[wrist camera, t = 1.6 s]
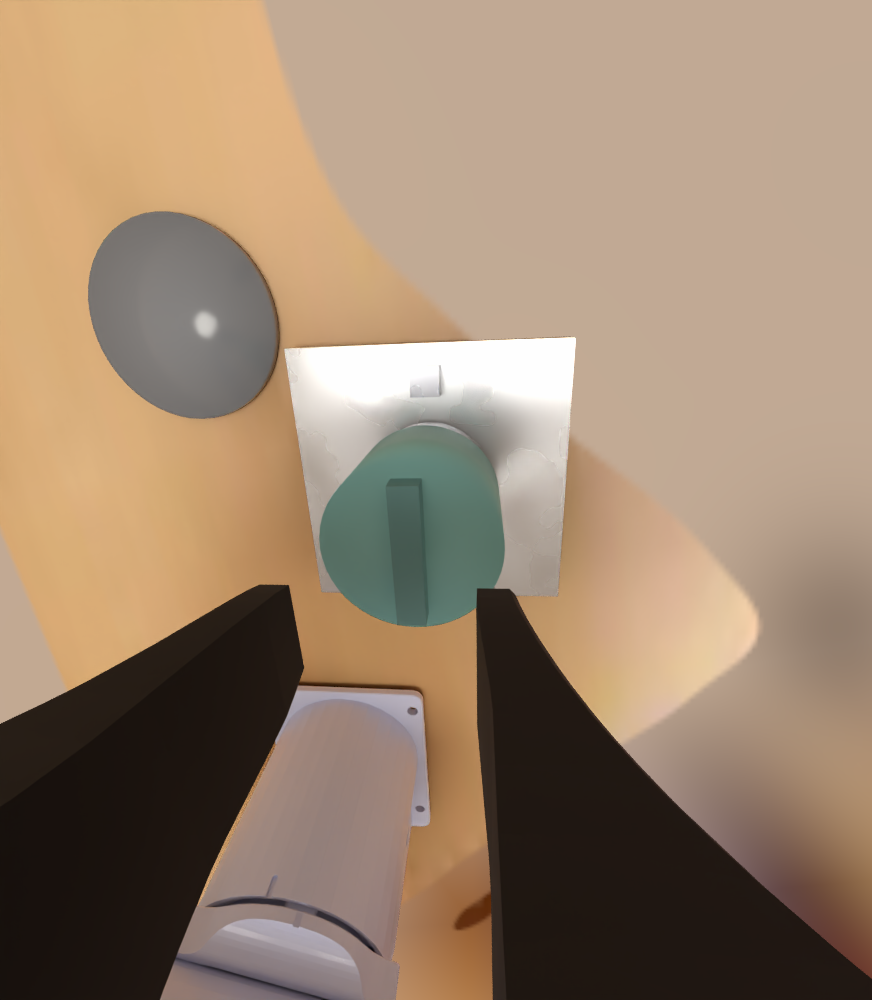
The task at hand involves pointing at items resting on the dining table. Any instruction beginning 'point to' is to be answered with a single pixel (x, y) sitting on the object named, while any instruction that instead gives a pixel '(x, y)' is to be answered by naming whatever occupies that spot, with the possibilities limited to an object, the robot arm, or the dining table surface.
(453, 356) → the post plinth
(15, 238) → the dining table surface
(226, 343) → the coaster
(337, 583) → the cap
